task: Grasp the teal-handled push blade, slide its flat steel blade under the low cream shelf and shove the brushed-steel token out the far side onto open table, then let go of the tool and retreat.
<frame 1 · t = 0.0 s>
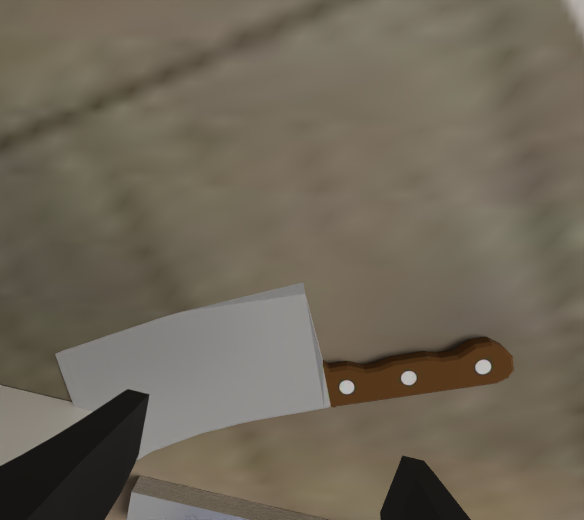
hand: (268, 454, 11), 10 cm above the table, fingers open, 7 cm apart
cream shelf: (23, 469, 24), on the table
kitchen cleaver: (275, 355, 22), on the table
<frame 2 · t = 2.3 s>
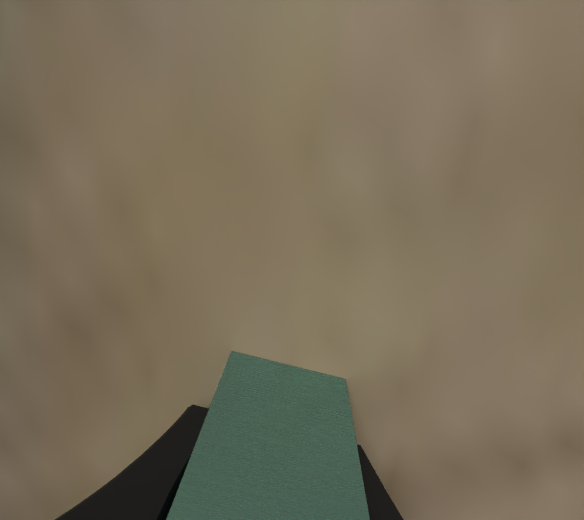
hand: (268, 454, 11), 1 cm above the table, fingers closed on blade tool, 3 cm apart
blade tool: (273, 421, 12), on the table, touching gripper
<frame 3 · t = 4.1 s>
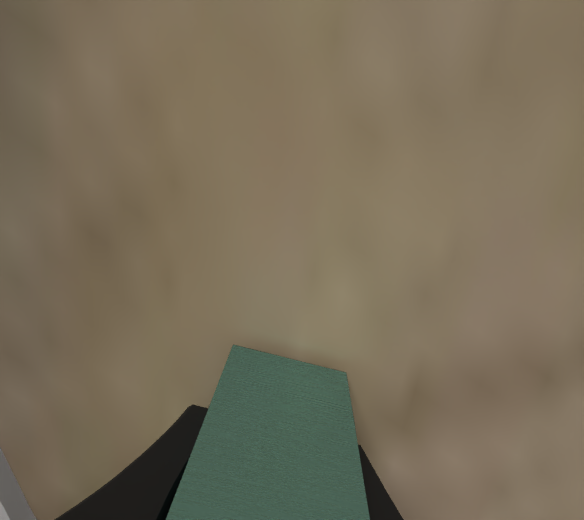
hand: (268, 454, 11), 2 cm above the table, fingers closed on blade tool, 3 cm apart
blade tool: (274, 413, 12), on the table, touching gripper
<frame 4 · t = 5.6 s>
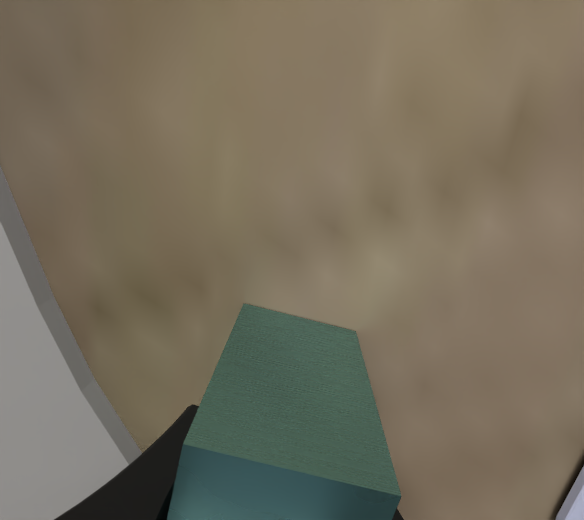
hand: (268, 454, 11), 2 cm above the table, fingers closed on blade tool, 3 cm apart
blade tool: (284, 374, 12), on the table, touching gripper
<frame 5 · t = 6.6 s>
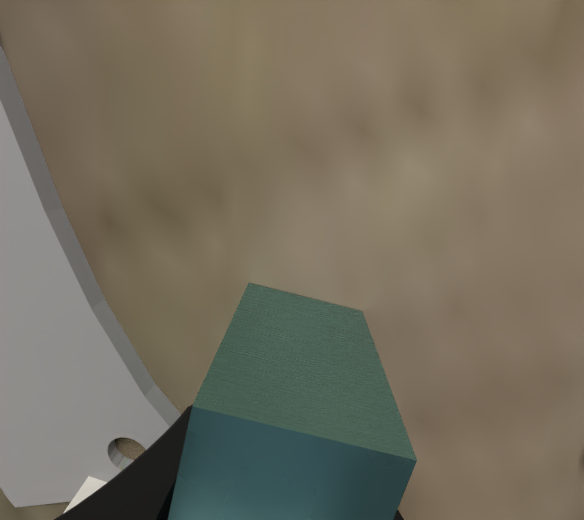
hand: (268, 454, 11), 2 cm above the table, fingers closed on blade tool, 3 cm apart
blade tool: (289, 355, 12), on the table, touching gripper
when the fingers open (2 cm above the table, at t = 8.2 s): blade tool stays where it is, on the table.
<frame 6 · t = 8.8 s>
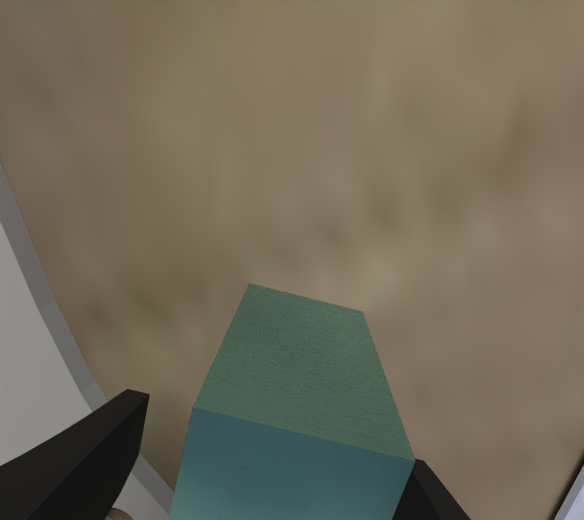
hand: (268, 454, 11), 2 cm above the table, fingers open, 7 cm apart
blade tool: (289, 355, 12), on the table
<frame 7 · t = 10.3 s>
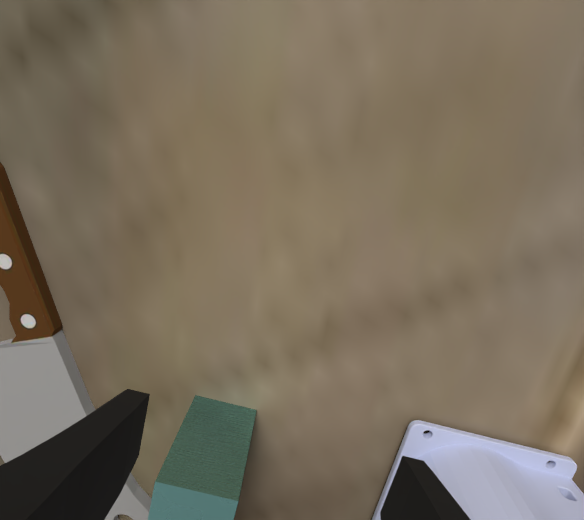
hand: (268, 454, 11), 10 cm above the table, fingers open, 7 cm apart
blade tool: (218, 432, 22), on the table
kitchen cleaver: (36, 374, 23), on the table
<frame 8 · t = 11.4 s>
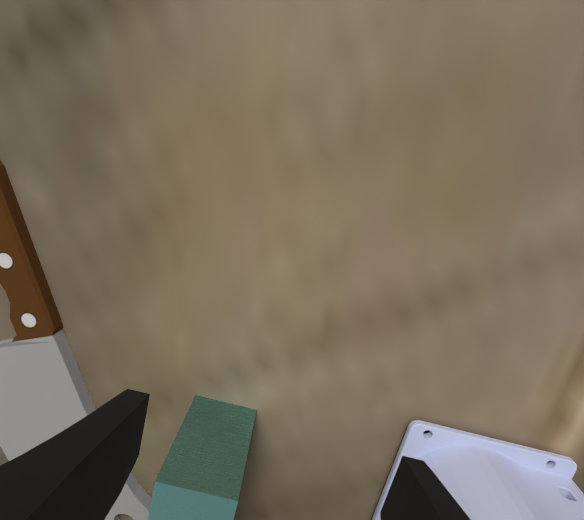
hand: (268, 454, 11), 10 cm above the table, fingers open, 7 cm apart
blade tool: (218, 432, 22), on the table
kitchen cleaver: (37, 373, 23), on the table
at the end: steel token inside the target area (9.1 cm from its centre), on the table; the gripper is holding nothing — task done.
